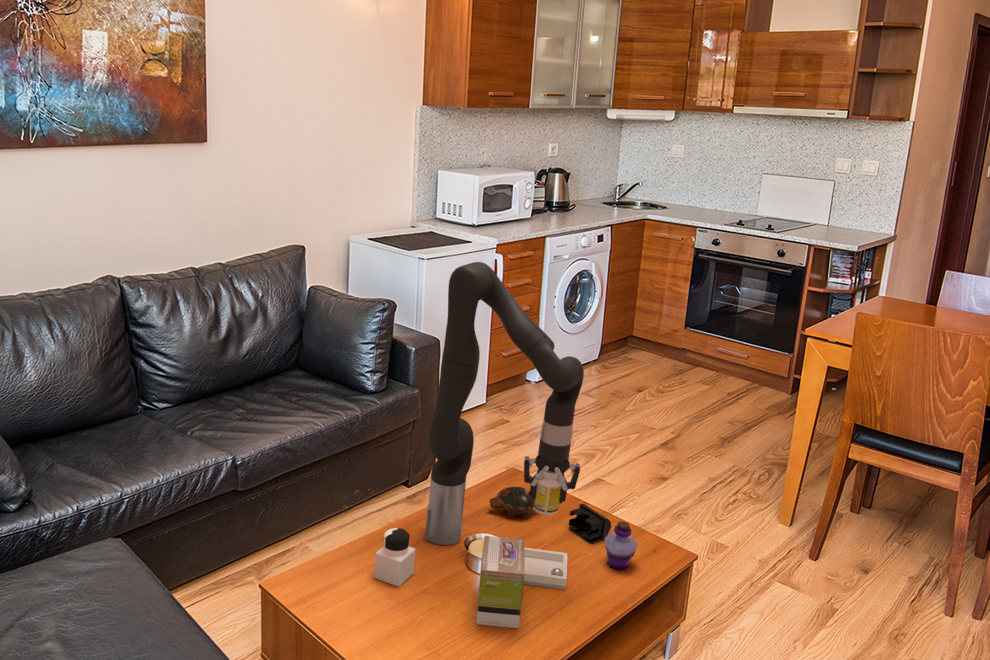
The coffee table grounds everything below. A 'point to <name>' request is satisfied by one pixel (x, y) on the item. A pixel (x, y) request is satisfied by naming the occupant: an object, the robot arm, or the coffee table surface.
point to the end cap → (589, 524)
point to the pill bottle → (547, 494)
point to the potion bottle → (620, 546)
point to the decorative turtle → (513, 501)
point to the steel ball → (557, 572)
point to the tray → (544, 568)
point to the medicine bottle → (395, 558)
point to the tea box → (501, 582)
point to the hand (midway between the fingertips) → (547, 499)
